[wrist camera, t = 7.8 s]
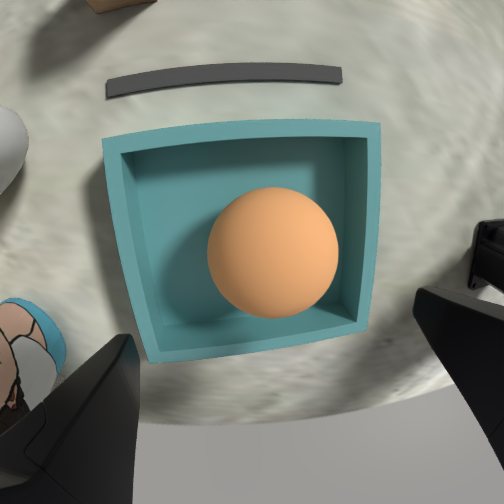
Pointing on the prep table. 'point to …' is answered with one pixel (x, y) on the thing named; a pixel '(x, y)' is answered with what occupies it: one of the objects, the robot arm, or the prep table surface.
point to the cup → (26, 359)
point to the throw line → (222, 75)
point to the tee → (113, 4)
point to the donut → (11, 146)
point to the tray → (209, 208)
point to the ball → (272, 252)
